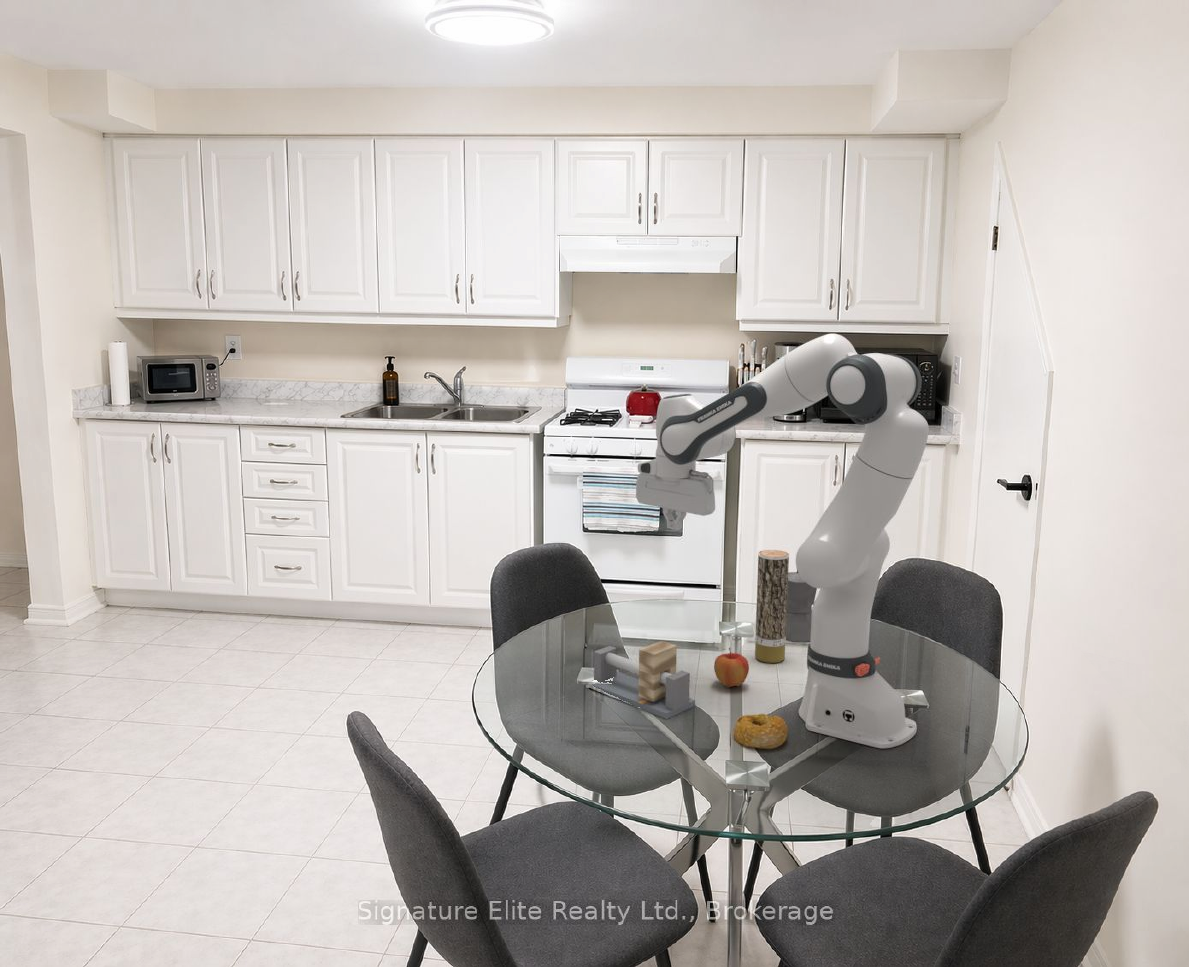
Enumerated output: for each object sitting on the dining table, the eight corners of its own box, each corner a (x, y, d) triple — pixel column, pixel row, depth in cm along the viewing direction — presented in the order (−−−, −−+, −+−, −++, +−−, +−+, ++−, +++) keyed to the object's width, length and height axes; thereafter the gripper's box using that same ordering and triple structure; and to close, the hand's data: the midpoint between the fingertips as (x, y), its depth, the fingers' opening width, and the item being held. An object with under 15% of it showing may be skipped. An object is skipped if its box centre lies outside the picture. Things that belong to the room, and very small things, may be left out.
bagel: (779, 725, 185) (779, 702, 184) (793, 752, 174) (794, 728, 173) (728, 727, 184) (728, 704, 183) (739, 754, 174) (740, 730, 173)
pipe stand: (695, 705, 194) (696, 670, 192) (666, 719, 187) (667, 682, 186) (616, 676, 209) (616, 643, 207) (587, 688, 202) (587, 654, 201)
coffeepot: (766, 639, 232) (769, 567, 229) (773, 626, 241) (775, 558, 237) (831, 646, 227) (834, 573, 224) (835, 634, 236) (839, 563, 232)
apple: (721, 694, 199) (722, 658, 198) (708, 681, 206) (709, 646, 205) (753, 690, 201) (755, 654, 200) (739, 677, 208) (740, 642, 207)
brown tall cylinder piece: (783, 654, 222) (787, 550, 217) (786, 664, 216) (790, 558, 211) (753, 652, 223) (757, 549, 218) (755, 663, 216) (759, 557, 212)
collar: (675, 691, 195) (676, 645, 194) (653, 701, 191) (654, 654, 189) (660, 686, 198) (661, 640, 196) (638, 696, 193) (639, 649, 191)
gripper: (722, 471, 204) (720, 534, 207) (650, 460, 218) (649, 519, 221) (704, 475, 200) (702, 539, 202) (631, 463, 214) (631, 523, 216)
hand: (674, 528), depth 212 cm, fingers closed
